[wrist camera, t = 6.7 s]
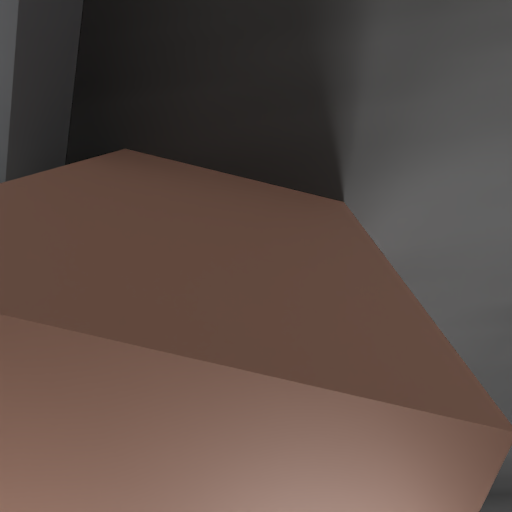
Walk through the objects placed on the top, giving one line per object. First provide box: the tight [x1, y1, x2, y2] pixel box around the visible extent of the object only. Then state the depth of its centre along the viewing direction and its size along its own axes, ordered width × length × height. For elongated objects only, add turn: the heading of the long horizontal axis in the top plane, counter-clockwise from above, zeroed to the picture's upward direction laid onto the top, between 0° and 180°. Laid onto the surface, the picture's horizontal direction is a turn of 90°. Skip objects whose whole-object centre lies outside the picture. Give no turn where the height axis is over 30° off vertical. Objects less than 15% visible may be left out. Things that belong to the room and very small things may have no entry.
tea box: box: [0, 149, 512, 512], centre depth 8 cm, size 5×7×8 cm
